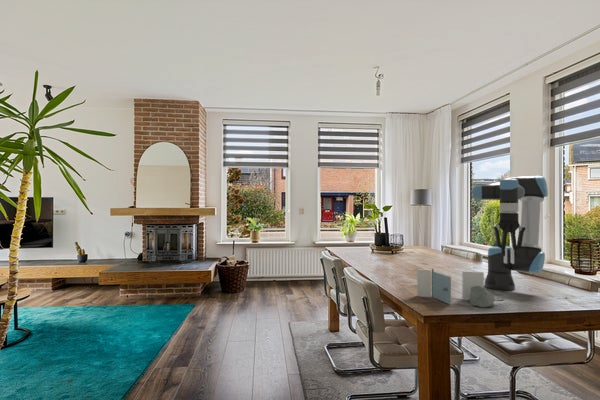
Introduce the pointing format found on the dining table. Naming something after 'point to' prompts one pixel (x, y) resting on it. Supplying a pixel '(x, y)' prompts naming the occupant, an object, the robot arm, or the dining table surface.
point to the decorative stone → (481, 297)
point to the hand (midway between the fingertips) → (508, 263)
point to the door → (442, 287)
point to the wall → (467, 282)
